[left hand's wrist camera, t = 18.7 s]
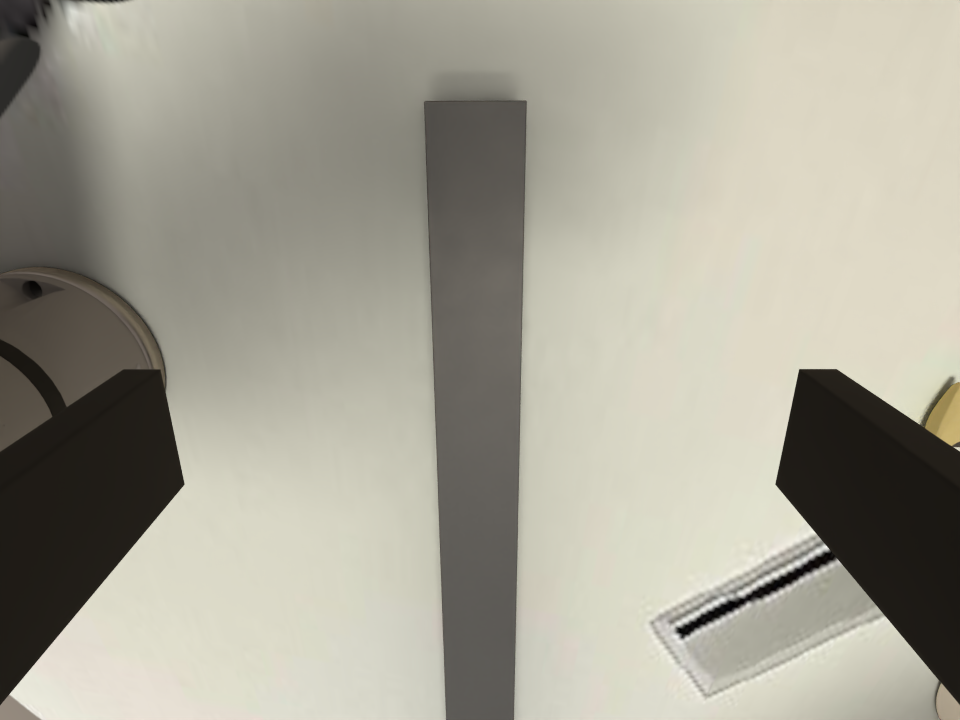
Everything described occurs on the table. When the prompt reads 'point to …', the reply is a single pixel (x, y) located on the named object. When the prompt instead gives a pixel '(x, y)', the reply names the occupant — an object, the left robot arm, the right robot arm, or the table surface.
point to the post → (477, 389)
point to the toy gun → (947, 417)
